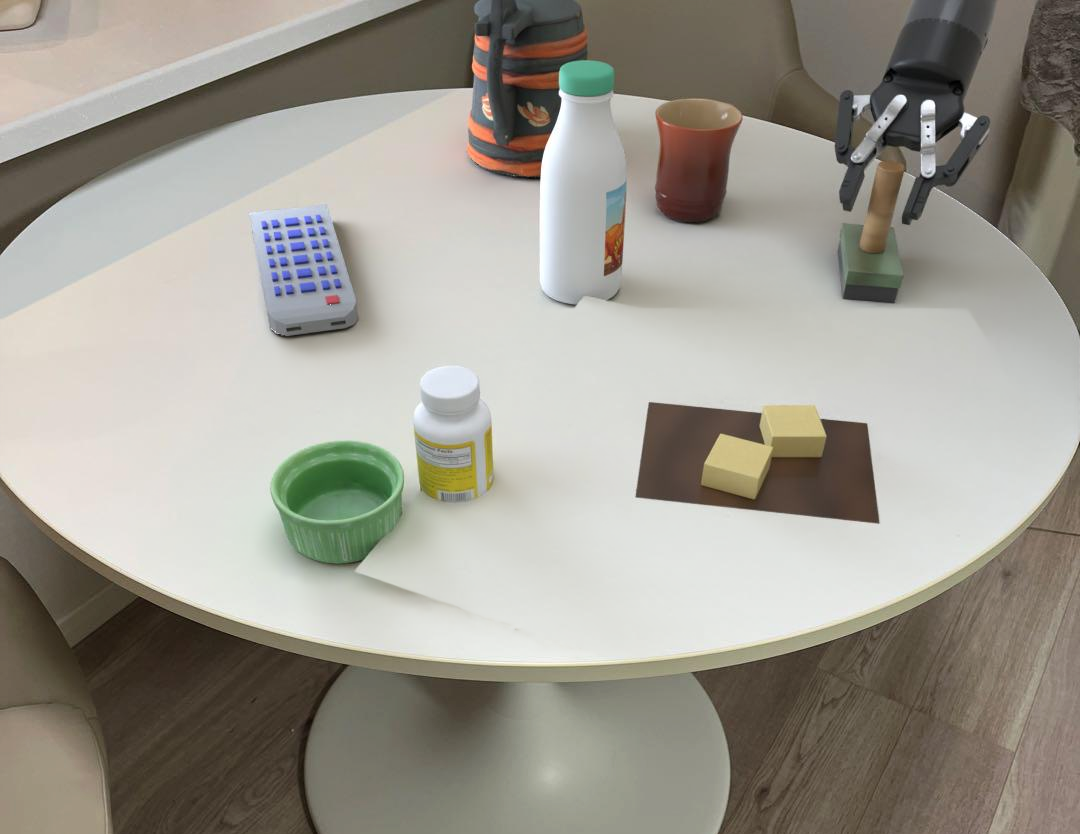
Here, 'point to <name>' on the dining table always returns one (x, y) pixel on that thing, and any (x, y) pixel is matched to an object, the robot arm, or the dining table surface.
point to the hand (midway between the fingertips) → (876, 213)
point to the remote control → (302, 271)
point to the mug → (694, 157)
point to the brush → (873, 243)
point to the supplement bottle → (453, 436)
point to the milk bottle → (583, 190)
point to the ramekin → (338, 499)
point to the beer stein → (520, 79)
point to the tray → (790, 483)
